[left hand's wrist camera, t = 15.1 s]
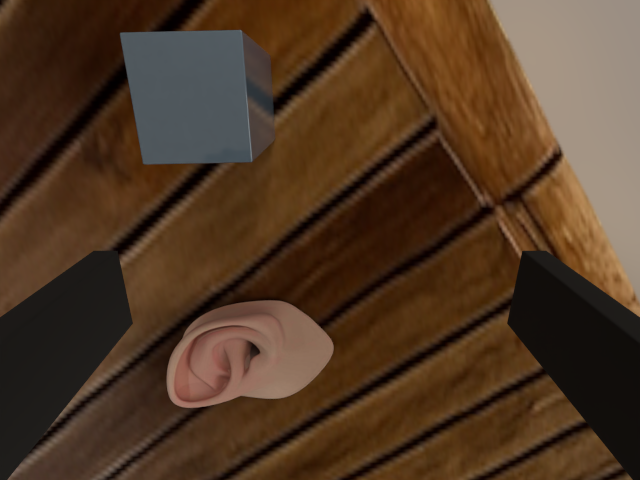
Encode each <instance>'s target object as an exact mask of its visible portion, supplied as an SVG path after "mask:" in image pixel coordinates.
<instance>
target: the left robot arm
mask: <svg viewBox="0 0 640 480" xmlns="http://www.w3.org/2000/svg"><path fill="white" fill-rule="evenodd" d="M132 324H133V322H132V318H131V313H130V308H129V303H128V299H127V294H126V289H125V284H124V280H123V275H122V270H121V265H120V260H119V256H118V251H93V252H92V253H90V254H89V255H87V256H86V257H85V258H83V259H82V260H80V261H79V262H78V263H76V264H75V265H73V266H72V267H70V268H69V269H68V270H66V271H65V272H63V273H62V274H61V275H59V276H58V277H56V278H55V279H54V280H52V281H51V282H49V283H48V284H47V285H45V286H44V287H42V288H41V289H40V290H38V291H37V292H35V293H34V294H33V295H31V296H30V297H28V298H27V299H25V300H24V301H23V302H21V303H20V304H18V305H17V306H16V307H14V308H13V309H11V310H10V311H9V312H7V313H6V314H4V315H3V316H2V317H0V480H7V479H8V478H9V477H10V475H11V474H12V473H13V472H14V470H15V469H16V468H17V467H18V466H19V464H20V463H21V462H22V461H23V459H24V458H25V457H26V456H27V454H28V453H29V452H30V451H31V449H32V448H33V447H34V446H35V444H36V443H37V442H38V441H39V439H40V438H41V437H42V436H43V434H44V433H45V432H46V431H47V429H48V428H49V427H50V426H51V424H52V423H53V422H54V421H55V419H56V418H57V417H58V416H59V414H60V413H61V412H62V411H63V409H64V408H65V407H66V406H67V405H68V403H69V402H70V401H71V400H72V398H73V397H74V396H75V395H76V393H77V392H78V391H79V390H80V388H81V387H82V386H83V385H84V383H85V382H86V381H87V380H88V378H89V377H90V376H91V375H92V373H93V372H94V371H95V370H96V368H97V367H98V366H99V365H100V363H101V362H102V361H103V360H104V358H105V357H106V356H107V355H108V353H109V352H110V351H111V350H112V348H113V347H114V346H115V345H116V344H117V342H118V341H119V340H120V339H121V337H122V336H123V335H124V334H125V332H126V331H127V330H128V329H129V327H130V326H131V325H132ZM507 324H508V325H509V326H510V327H511V329H512V330H513V331H514V332H515V334H516V335H517V336H518V337H519V339H520V340H521V341H522V342H523V344H524V345H525V346H526V347H527V348H528V350H529V351H530V352H531V353H532V355H533V356H534V357H535V358H536V360H537V361H538V362H539V363H540V365H541V366H542V367H543V368H544V370H545V371H546V372H547V373H548V375H549V376H550V377H551V378H552V380H553V381H554V382H555V383H556V385H557V386H558V387H559V388H560V390H561V391H562V392H563V393H564V395H565V396H566V397H567V398H568V400H569V401H570V402H571V403H572V405H573V406H574V407H575V408H576V409H577V411H578V412H579V413H580V414H581V416H582V417H583V418H584V419H585V421H586V422H587V423H588V424H589V426H590V427H591V428H592V429H593V431H594V432H595V433H596V434H597V436H598V437H599V438H600V439H601V441H602V442H603V443H604V444H605V446H606V447H607V448H608V449H609V451H610V452H611V453H612V454H613V456H614V457H615V458H616V459H617V461H618V462H619V463H620V464H621V466H622V467H623V468H624V469H625V470H626V472H627V473H628V474H629V475H630V477H631V478H632V479H633V480H640V317H638V316H637V315H636V314H634V313H633V312H631V311H630V310H629V309H627V308H626V307H624V306H623V305H622V304H620V303H619V302H617V301H616V300H615V299H613V298H612V297H610V296H609V295H607V294H606V293H605V292H603V291H602V290H600V289H599V288H598V287H596V286H595V285H593V284H592V283H591V282H589V281H588V280H586V279H585V278H584V277H582V276H581V275H579V274H578V273H577V272H575V271H574V270H572V269H571V268H570V267H568V266H567V265H565V264H564V263H562V262H561V261H560V260H558V259H557V258H555V257H554V256H553V255H551V254H550V253H548V252H547V251H522V256H521V260H520V265H519V270H518V275H517V280H516V284H515V289H514V294H513V299H512V303H511V308H510V313H509V318H508V322H507Z"/></svg>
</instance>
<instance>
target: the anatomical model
mask: <svg viewBox="0 0 640 480" xmlns="http://www.w3.org/2000/svg"><path fill="white" fill-rule="evenodd" d="M332 354H333V343H332V341H331V339H330V338H329V336H328V335H327V334H326V333H325V332H324V331H323V330H322V329H321V328H320V327H319V326H318V325H317V324H316V323H315V322H314V321H313V320H312V319H311V318H310V317H309V316H307V315H306V314H304V313H303V312H302V311H300V310H299V309H297V308H296V307H294V306H293V305H291V304H289V303H286V302H283V301H275V300H264V301H252V302H243V303H236V304H232V305H227V306H223V307H220V308H217V309H214V310H212V311H210V312H208V313H206V314H204V315H202V316H201V317H199V318H198V319H196V320H195V321H194V322H193V323H192V324H191V325H190V326H189V327H188V328H187V330H186V331H185V333H184V336H183V338H182V340H181V341H180V342H179V343H178V345H177V346H176V348H175V349H174V351H173V353H172V355H171V357H170V360H169V364H168V369H167V389H168V394H169V397H170V399H171V400H172V402H173V403H174V404H176V405H178V406H181V407H187V408H193V407H203V406H209V405H214V404H218V403H222V402H225V401H228V400H231V399H234V398H236V397H238V396H247V397H255V398H267V399H276V398H283V397H287V396H290V395H292V394H294V393H296V392H298V391H299V390H301V389H302V388H304V387H305V386H306V385H307V384H309V383H310V382H311V381H312V380H313V379H314V378H315V377H316V376H317V375H318V374H319V373H320V372H321V370H322V369H323V368H324V367H325V365H326V364H327V363H328V361H329V360H330V358H331V356H332Z"/></svg>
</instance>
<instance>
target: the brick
mask: <svg viewBox="0 0 640 480" xmlns="http://www.w3.org/2000/svg"><path fill="white" fill-rule="evenodd" d="M120 38H121V43H122V49H123V54H124V60H125V66H126V71H127V77H128V82H129V88H130V93H131V99H132V104H133V110H134V115H135V121H136V127H137V132H138V138H139V143H140V149H141V154H142V160H143V164H188V163H236V162H253V161H254V160H255V159H256V158H257V157H258V156H259V155H260V154H261V153H262V152H263V151H264V150H265V149H266V148H267V147H268V146H269V145H270V144H271V143H272V142H273V141H274V140H275V129H274V112H273V95H272V78H271V61H270V55H269V54H268V53H267V52H266V51H265V50H263V49H262V48H261V47H260V46H259V45H258V44H257V43H255V42H254V41H253V40H252V39H251V38H250V37H249V36H247V35H246V34H245V33H244V32H243V31H242V30H216V31H170V32H123V33H120Z"/></svg>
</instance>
